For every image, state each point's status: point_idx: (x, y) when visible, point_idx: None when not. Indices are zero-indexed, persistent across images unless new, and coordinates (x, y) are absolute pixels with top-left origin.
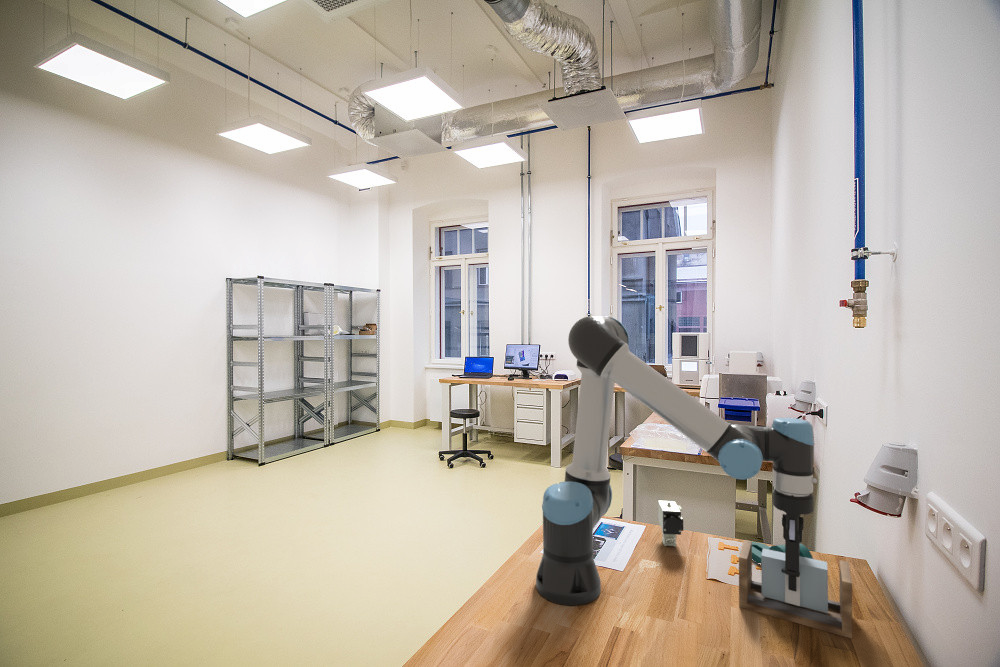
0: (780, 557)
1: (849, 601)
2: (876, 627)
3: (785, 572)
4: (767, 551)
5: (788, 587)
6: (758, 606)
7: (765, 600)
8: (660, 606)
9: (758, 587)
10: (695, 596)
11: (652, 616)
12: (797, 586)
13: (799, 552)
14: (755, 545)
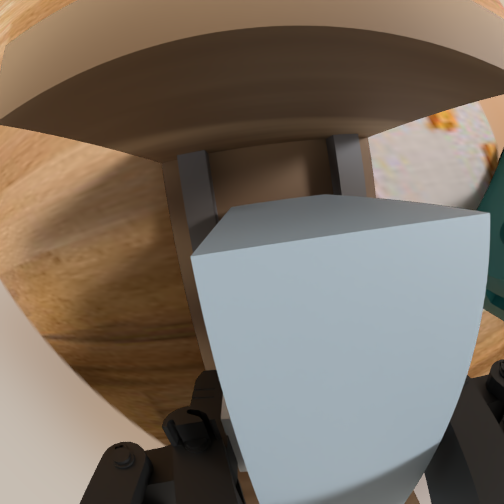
0: (314, 455)
1: None
2: None
3: (105, 453)
4: (431, 298)
5: (197, 380)
6: (177, 205)
7: (200, 231)
8: (48, 7)
9: (333, 170)
10: None
11: (10, 30)
12: None
13: (431, 499)
14: None
